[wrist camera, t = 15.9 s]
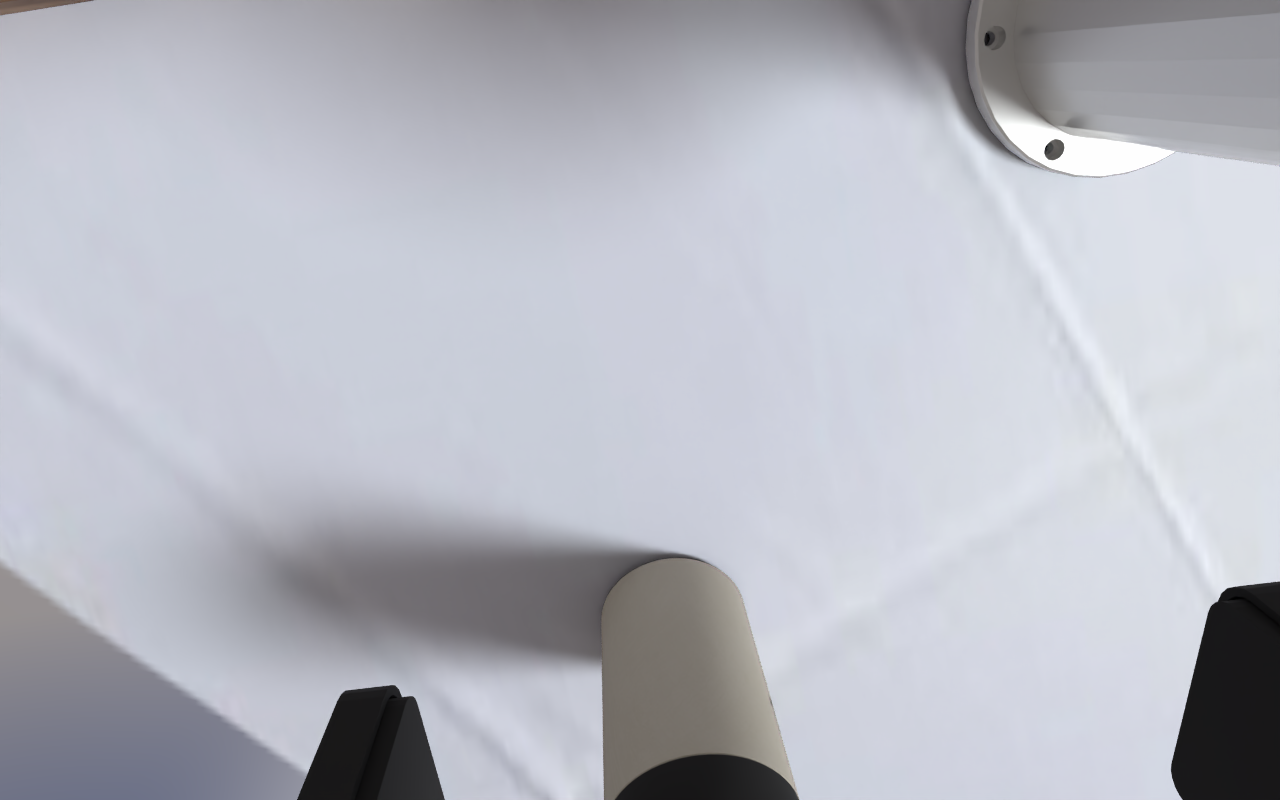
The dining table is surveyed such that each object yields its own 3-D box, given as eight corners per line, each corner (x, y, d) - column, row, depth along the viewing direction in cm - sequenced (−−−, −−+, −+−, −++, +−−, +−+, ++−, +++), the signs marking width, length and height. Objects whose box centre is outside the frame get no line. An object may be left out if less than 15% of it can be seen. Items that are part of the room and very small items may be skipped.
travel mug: (579, 647, 43) (571, 1000, 27) (635, 535, 41) (663, 852, 24) (706, 684, 45) (772, 1039, 29) (767, 579, 42) (879, 905, 26)
